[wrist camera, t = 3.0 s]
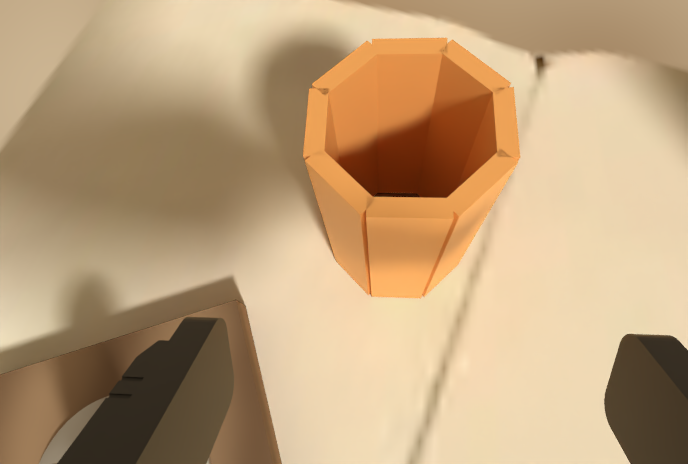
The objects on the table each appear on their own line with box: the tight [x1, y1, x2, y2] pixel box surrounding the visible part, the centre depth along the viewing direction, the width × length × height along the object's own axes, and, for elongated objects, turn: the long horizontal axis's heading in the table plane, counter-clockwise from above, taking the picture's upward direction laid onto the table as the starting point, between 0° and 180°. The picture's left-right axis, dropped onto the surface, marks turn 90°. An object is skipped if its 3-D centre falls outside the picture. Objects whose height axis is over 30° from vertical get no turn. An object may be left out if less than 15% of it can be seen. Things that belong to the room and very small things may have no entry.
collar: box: [303, 38, 520, 298], centre depth 18 cm, size 6×6×10 cm
